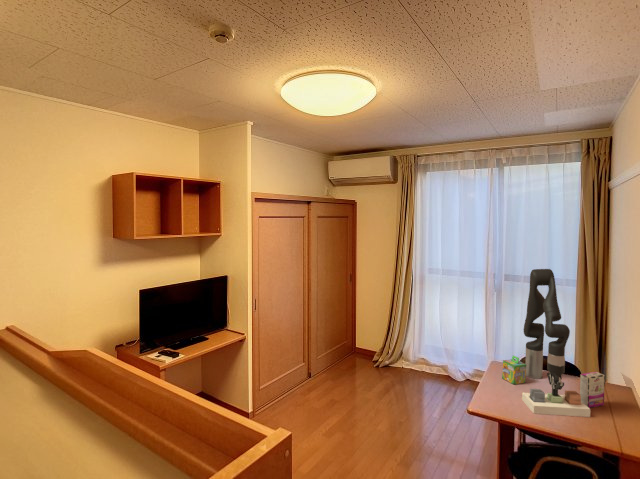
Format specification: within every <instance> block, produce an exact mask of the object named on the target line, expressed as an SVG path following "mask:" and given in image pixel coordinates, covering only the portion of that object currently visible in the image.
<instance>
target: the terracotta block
mask: <svg viewBox="0 0 640 479" xmlns="http://www.w3.org/2000/svg"><path fill="white" fill-rule="evenodd" d="M564 395H565V401H567V402H568V403H569V404H576V405H581V395H580V393H579V392H577V391H576V390H564Z"/></svg>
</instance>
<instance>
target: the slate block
mask: <svg viewBox="0 0 640 479" xmlns="http://www.w3.org/2000/svg"><path fill="white" fill-rule="evenodd" d="M529 393H530V399H531V400H532V401H533V402H542V403H545V394H546V392H545V393H544V391H543V390H542V389H541V388H529Z"/></svg>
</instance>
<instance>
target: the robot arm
mask: <svg viewBox="0 0 640 479" xmlns="http://www.w3.org/2000/svg"><path fill="white" fill-rule="evenodd" d="M539 286H541V287H543V286H545V287H546V286H547V287H548V292H547V294H546V296H545V297H544V295H543V294H542V293H541V292H540V291H539V289H538V287H539ZM557 296H558V295H557V288H556V279H555V275H554V272H553V270H552V269H551V268H536V269H532V270H531V271H530V275H529V293H528V300H527V304H526V306H527V307H526V315H525V320H524V324H523V335H524V336H525V337H526V338H531V339H534V340H531V341H527V342H526V343H525V359H524V360H525V362H524V363H525V364H526V377H528V378H531V379H542V378H543V369H544V368H543V367H544V366H543V363H544V362H543V361H544V339H545V334H546V336H547V337H548V338H550V339H551V338H552V339H556V340H553V341H549V343H548V346H547V348H548V351H547V362H546V363H547V364H546V365H547V367H546V369H547V371H548V372H547V373H546V376H547V379H548V383H549V385H550V387H551V393H552V395H553V396H558V394H559V391H561V390H562V389H563V388H564V386H565V382H563V381H562V380H563V379H562V378H563V377H562V375H563V374H565V371H566V370H565V368H566V367H565V366H566V358H565V356H566V355H565V351H566V345H567V342H568V340H569V338H570V333H571V331H570V328H569V327H568V325H567V324H564V323H562V324H561V323H555V322H559V321H560V320H561V319H562V314H561V311H560V307H559V303H558V297H557ZM543 314H544V317H545V323H544V324H545V325H544V324H543V323H538V322H535V320H537V319H538V318H540V317H541V316H542V315H543Z"/></svg>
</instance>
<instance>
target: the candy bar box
mask: <svg viewBox="0 0 640 479" xmlns="http://www.w3.org/2000/svg"><path fill="white" fill-rule="evenodd" d="M605 377H606V375H605V374H603V373H600V372H598V371H592V372H585V373H581V374H580V375H579V378H580V379H579V380H580V381H579V382H580V383H579V387H580V388H579V391H580V392H579V394H580V395H581V402H582V403H584V404H585V405H586V406H587V407H588V408H590V409H591V408H592V409H593V408H596V407H602V406H603V407H604V406H605V383H606V382H605V381H606V380H605Z"/></svg>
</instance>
